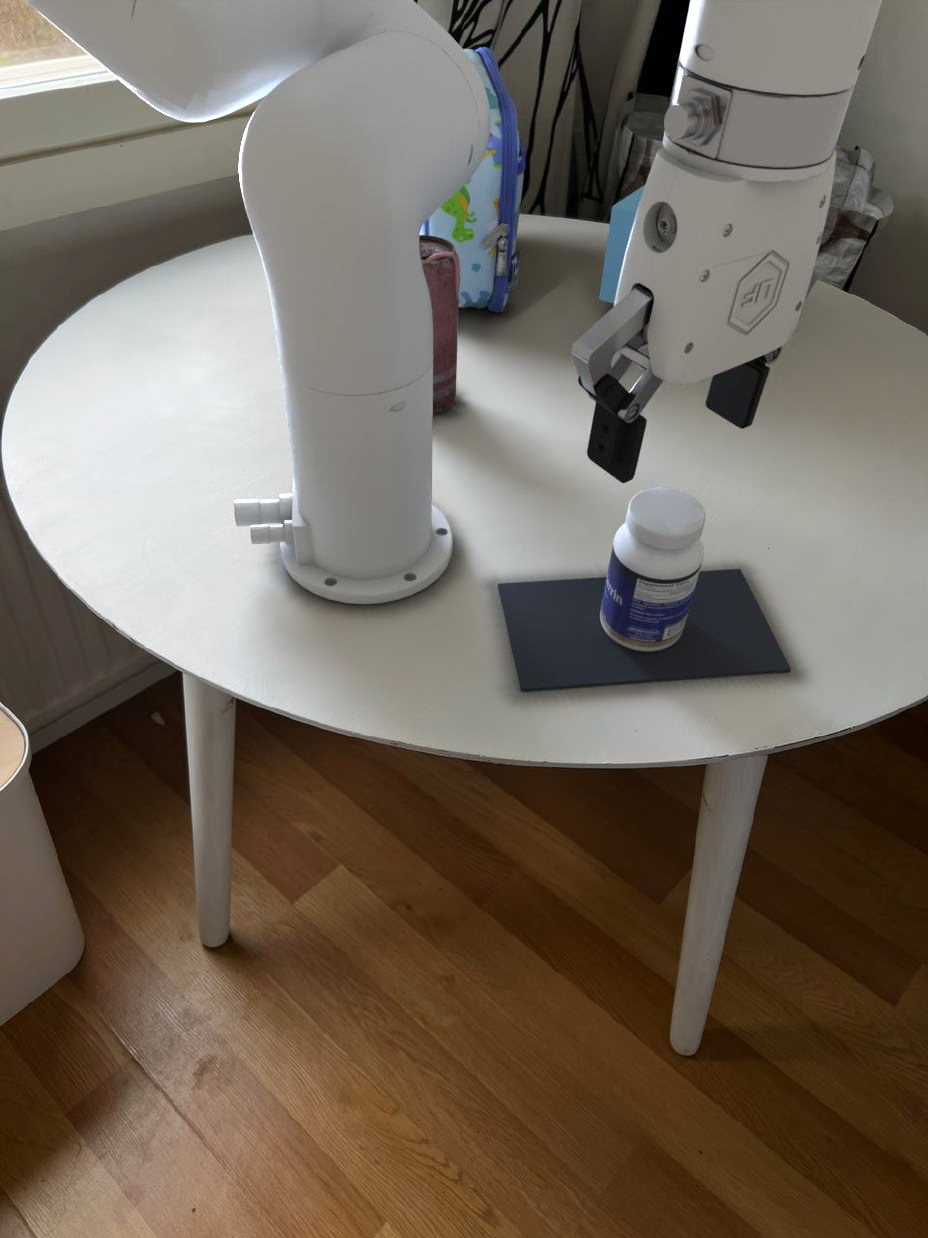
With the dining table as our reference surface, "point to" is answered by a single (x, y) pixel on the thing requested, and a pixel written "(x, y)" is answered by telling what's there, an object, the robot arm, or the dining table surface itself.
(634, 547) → the pill bottle
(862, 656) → the dining table surface
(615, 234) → the teapot
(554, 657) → the mat
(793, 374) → the dining table surface
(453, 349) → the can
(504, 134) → the lunch box
